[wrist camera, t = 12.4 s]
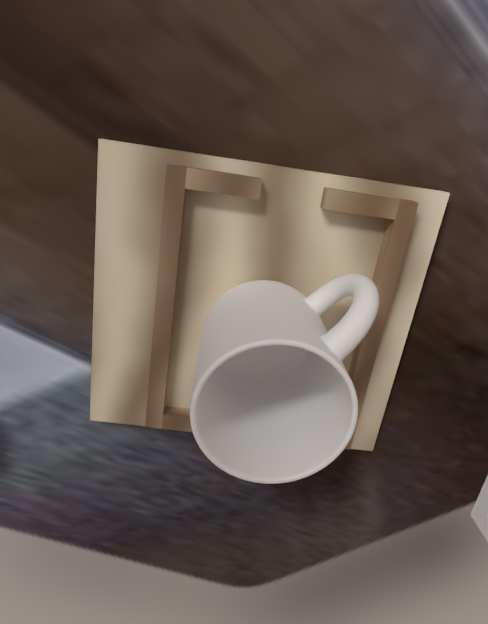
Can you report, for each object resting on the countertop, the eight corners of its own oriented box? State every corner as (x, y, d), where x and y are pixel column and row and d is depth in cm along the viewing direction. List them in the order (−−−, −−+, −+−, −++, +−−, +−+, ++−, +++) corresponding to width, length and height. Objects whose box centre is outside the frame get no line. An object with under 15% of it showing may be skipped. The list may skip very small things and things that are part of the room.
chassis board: (94, 411, 35) (85, 429, 33) (103, 139, 28) (92, 138, 26) (368, 441, 36) (377, 461, 34) (441, 190, 29) (459, 195, 27)
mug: (312, 212, 29) (351, 248, 19) (386, 303, 31) (456, 376, 21) (178, 329, 31) (154, 413, 22) (256, 404, 34) (265, 510, 24)
